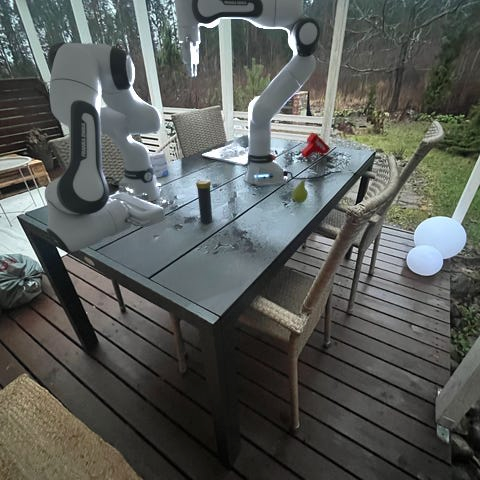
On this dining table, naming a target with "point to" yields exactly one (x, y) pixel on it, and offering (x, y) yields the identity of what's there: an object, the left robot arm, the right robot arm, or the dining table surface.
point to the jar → (205, 205)
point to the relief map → (230, 154)
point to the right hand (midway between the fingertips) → (192, 76)
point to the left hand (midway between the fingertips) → (156, 199)
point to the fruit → (300, 192)
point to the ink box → (159, 164)
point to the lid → (203, 183)
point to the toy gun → (314, 146)
